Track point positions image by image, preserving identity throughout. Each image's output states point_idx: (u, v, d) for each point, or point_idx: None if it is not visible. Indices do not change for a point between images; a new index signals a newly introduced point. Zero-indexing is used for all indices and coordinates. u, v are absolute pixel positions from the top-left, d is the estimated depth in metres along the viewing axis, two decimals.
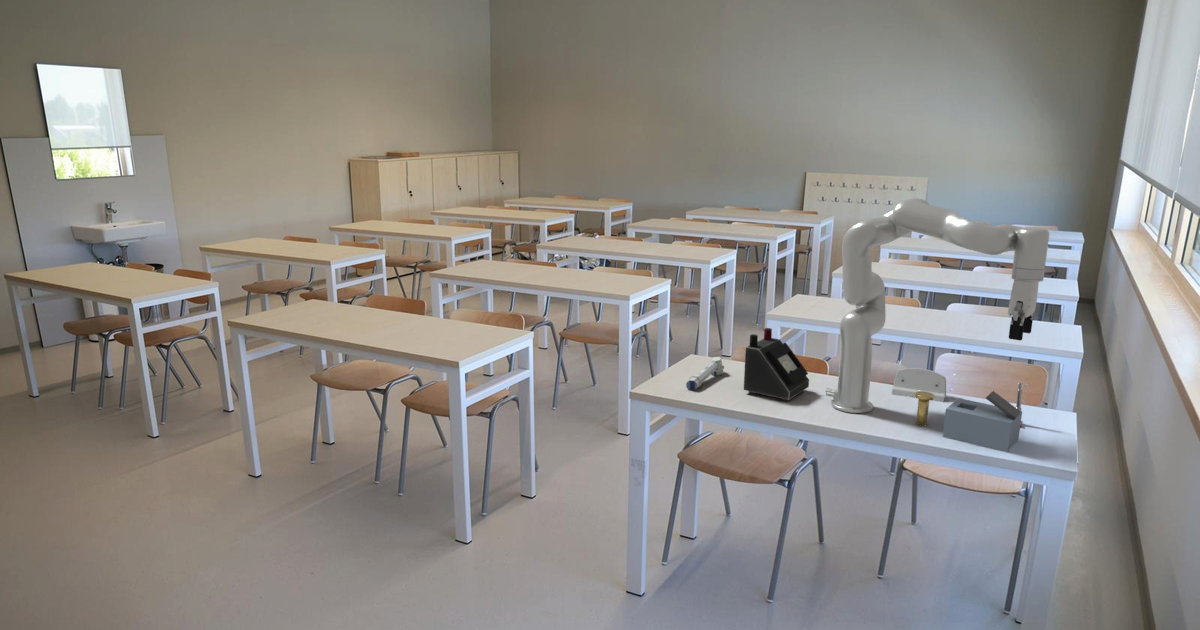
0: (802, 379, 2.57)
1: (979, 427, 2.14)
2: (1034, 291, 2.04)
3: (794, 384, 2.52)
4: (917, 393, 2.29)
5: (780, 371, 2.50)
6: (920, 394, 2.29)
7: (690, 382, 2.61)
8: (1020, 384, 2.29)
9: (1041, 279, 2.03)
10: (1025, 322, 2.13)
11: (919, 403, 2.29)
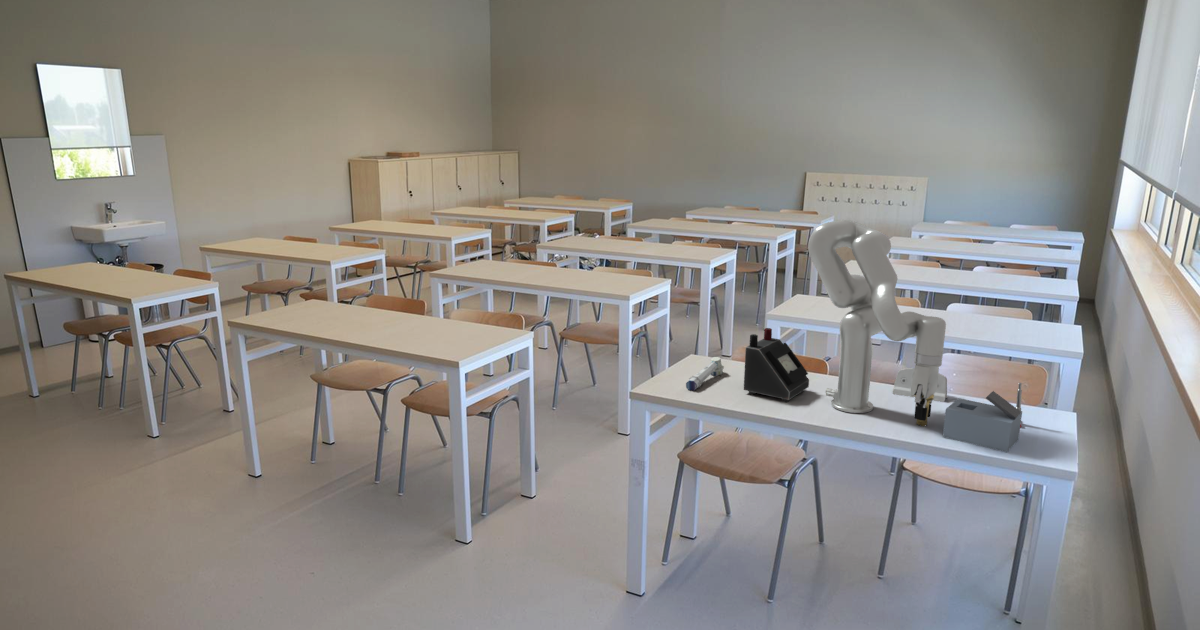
0: (802, 379, 2.57)
1: (979, 427, 2.14)
2: (933, 375, 2.24)
3: (794, 384, 2.52)
4: None
5: (780, 371, 2.50)
6: None
7: (690, 382, 2.60)
8: (1020, 384, 2.29)
9: (939, 364, 2.23)
10: None
11: None
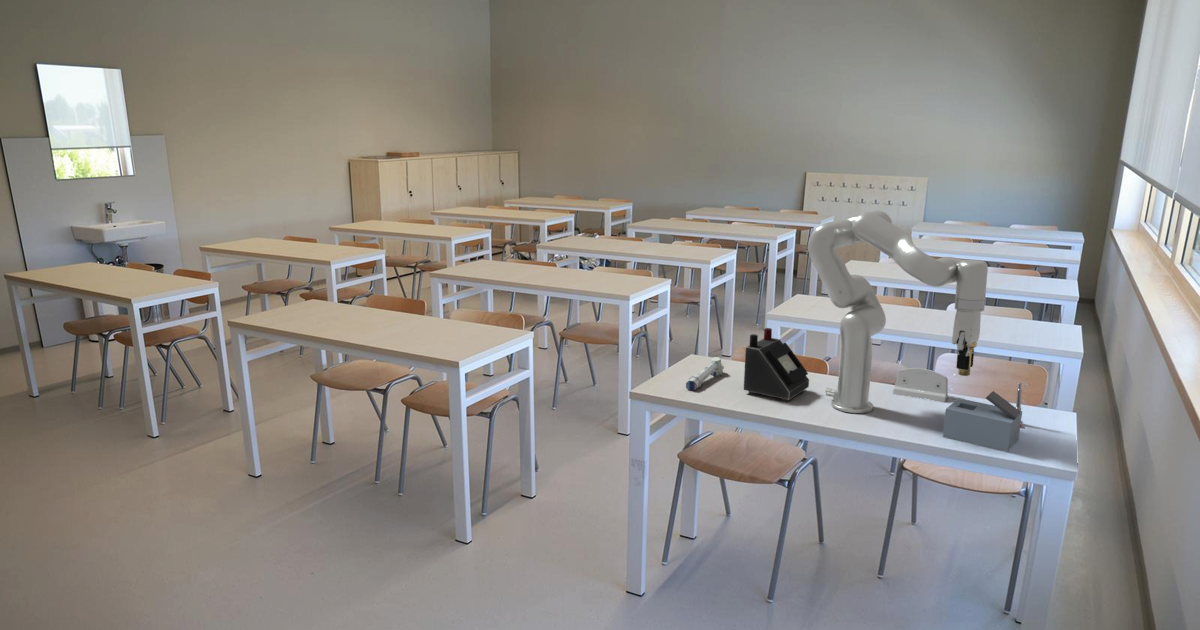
0: (802, 379, 2.57)
1: (979, 427, 2.14)
2: (976, 321, 2.14)
3: (794, 384, 2.52)
4: None
5: (780, 371, 2.50)
6: None
7: (690, 383, 2.60)
8: (1020, 384, 2.29)
9: (982, 309, 2.13)
10: None
11: None
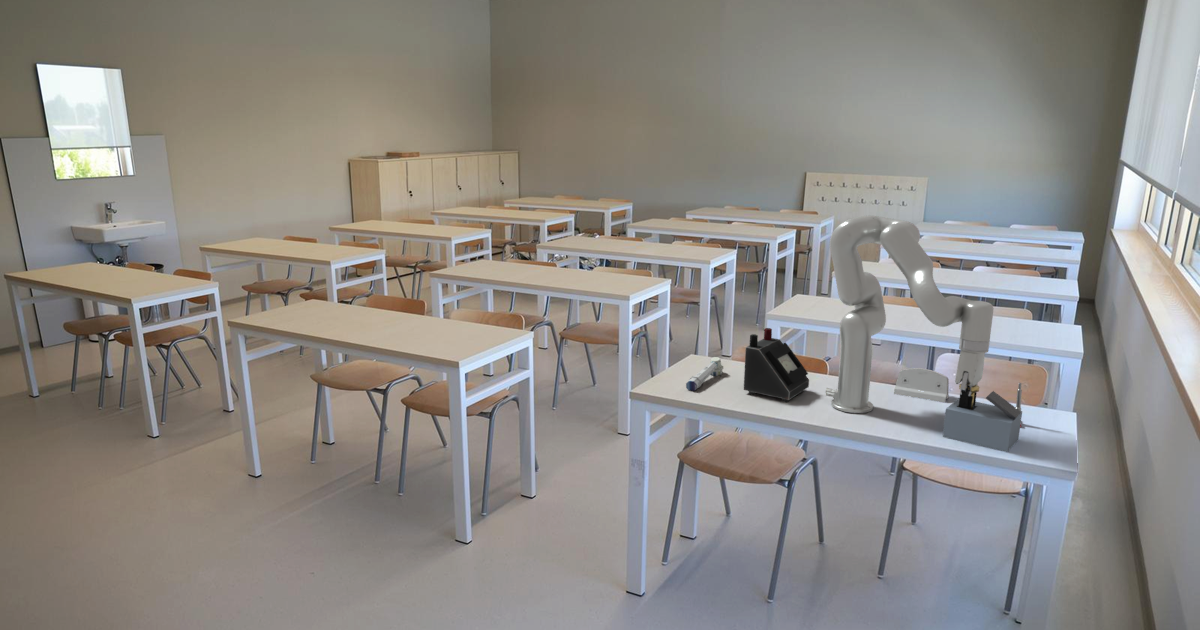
0: (802, 379, 2.57)
1: (979, 427, 2.14)
2: (979, 362, 2.15)
3: (794, 384, 2.52)
4: None
5: (780, 371, 2.50)
6: None
7: (690, 383, 2.60)
8: (1020, 384, 2.29)
9: (986, 351, 2.14)
10: None
11: None
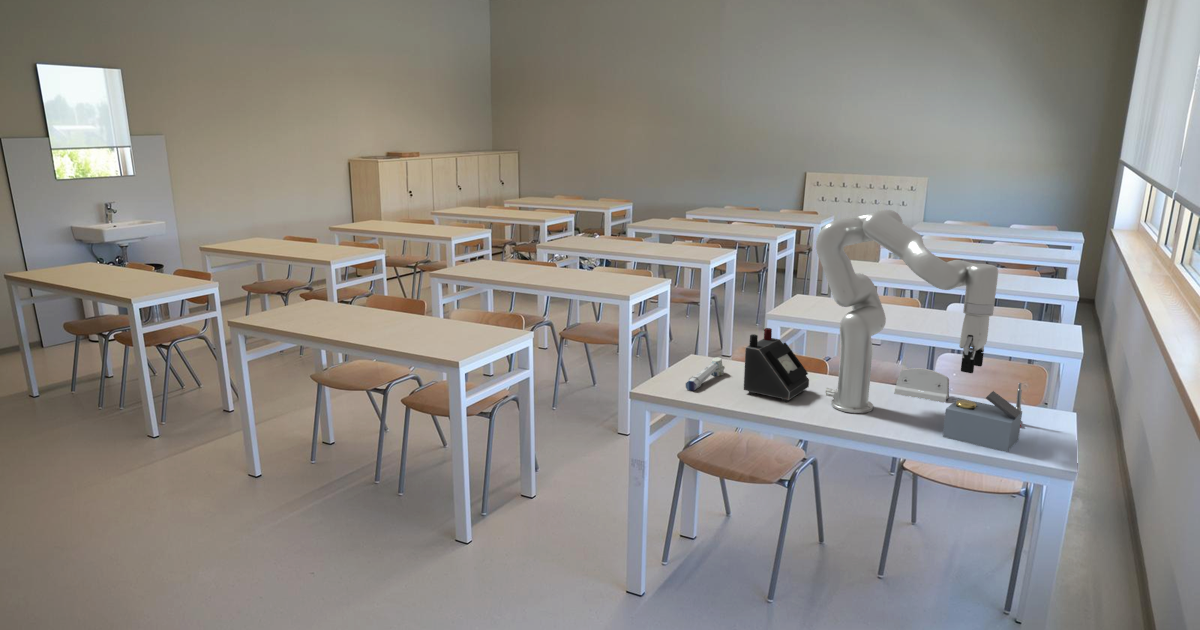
0: (802, 379, 2.57)
1: (979, 427, 2.14)
2: (984, 325, 2.13)
3: (794, 384, 2.52)
4: (959, 402, 2.22)
5: (780, 371, 2.50)
6: (962, 403, 2.21)
7: (690, 383, 2.60)
8: (1020, 384, 2.29)
9: (991, 314, 2.12)
10: (976, 355, 2.21)
11: None
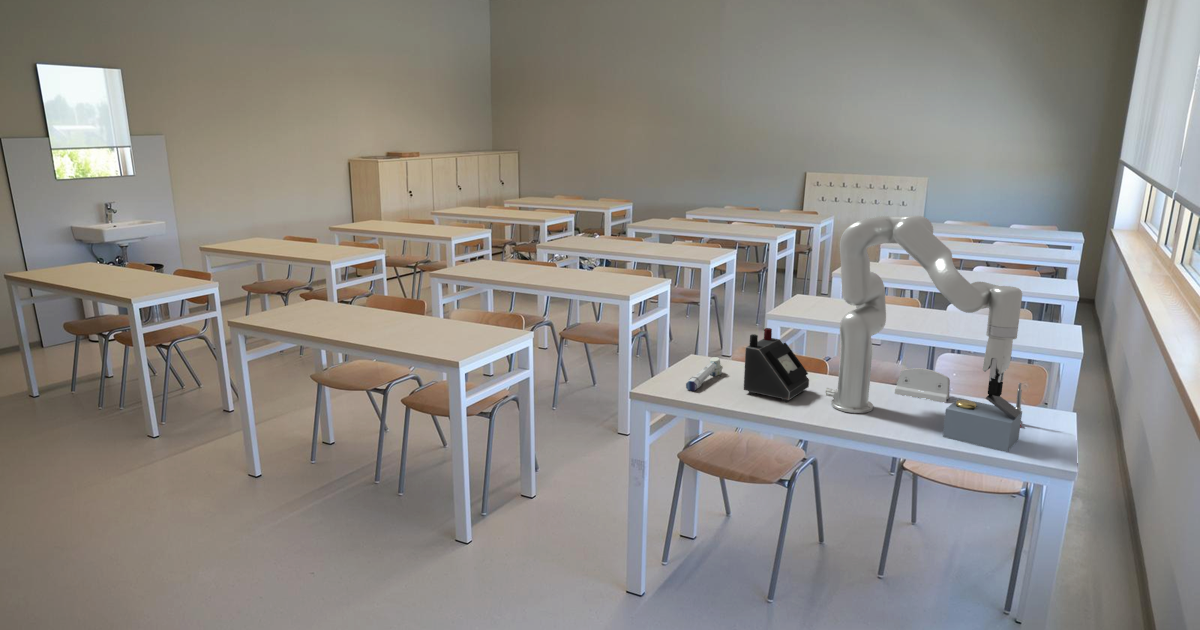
0: (802, 379, 2.57)
1: (979, 427, 2.14)
2: (1008, 348, 2.10)
3: (794, 384, 2.52)
4: (959, 402, 2.22)
5: (780, 371, 2.50)
6: (962, 403, 2.21)
7: (690, 383, 2.60)
8: (1020, 384, 2.29)
9: (1015, 337, 2.09)
10: None
11: None
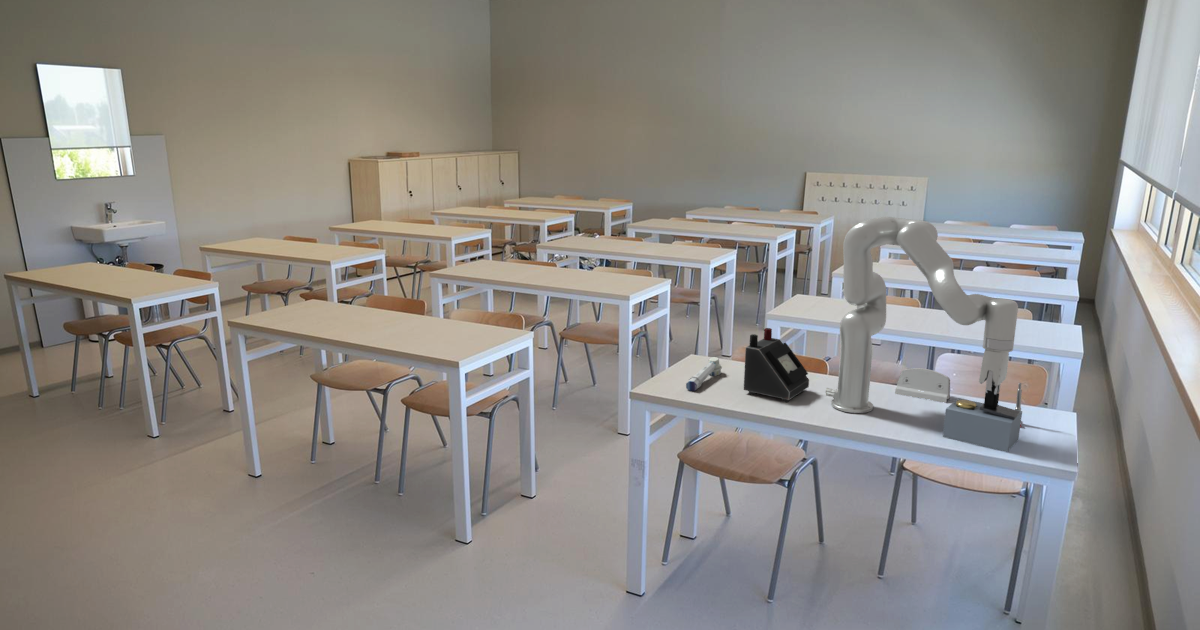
0: (802, 379, 2.57)
1: (979, 427, 2.14)
2: (1004, 361, 2.11)
3: (794, 384, 2.52)
4: (959, 402, 2.22)
5: (780, 371, 2.50)
6: (962, 403, 2.21)
7: (690, 383, 2.60)
8: (1020, 384, 2.29)
9: (1011, 349, 2.10)
10: None
11: None
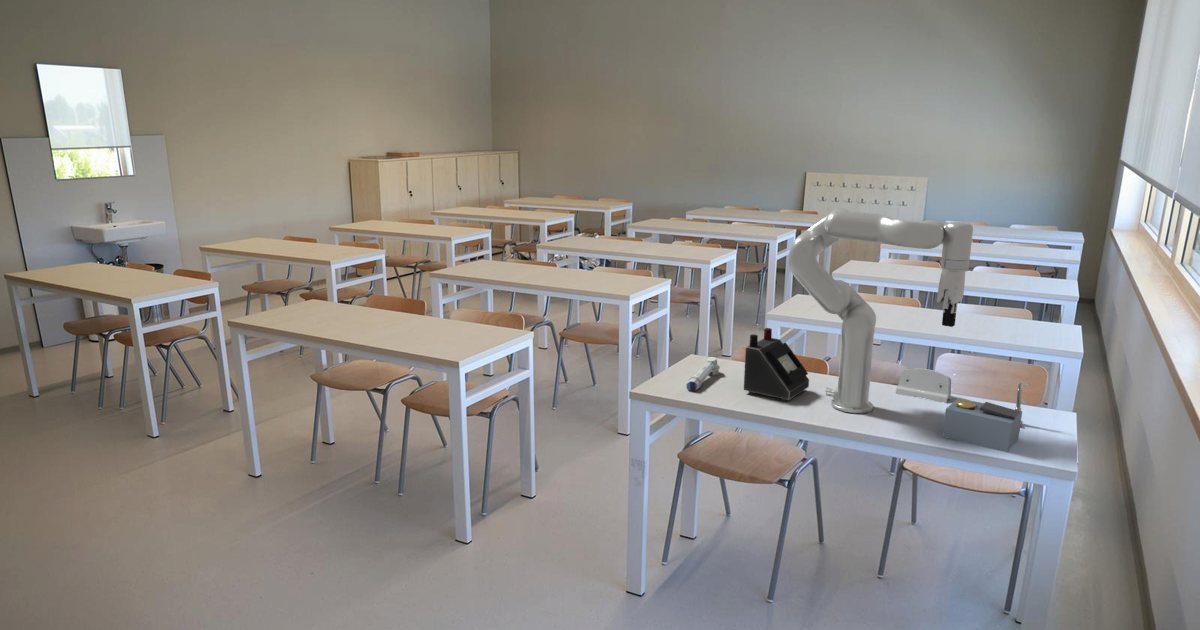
0: (802, 379, 2.57)
1: (979, 427, 2.14)
2: (960, 280, 2.24)
3: (794, 384, 2.52)
4: (959, 402, 2.22)
5: (780, 371, 2.50)
6: (962, 403, 2.21)
7: (691, 383, 2.59)
8: (1020, 384, 2.29)
9: (966, 269, 2.23)
10: None
11: None
